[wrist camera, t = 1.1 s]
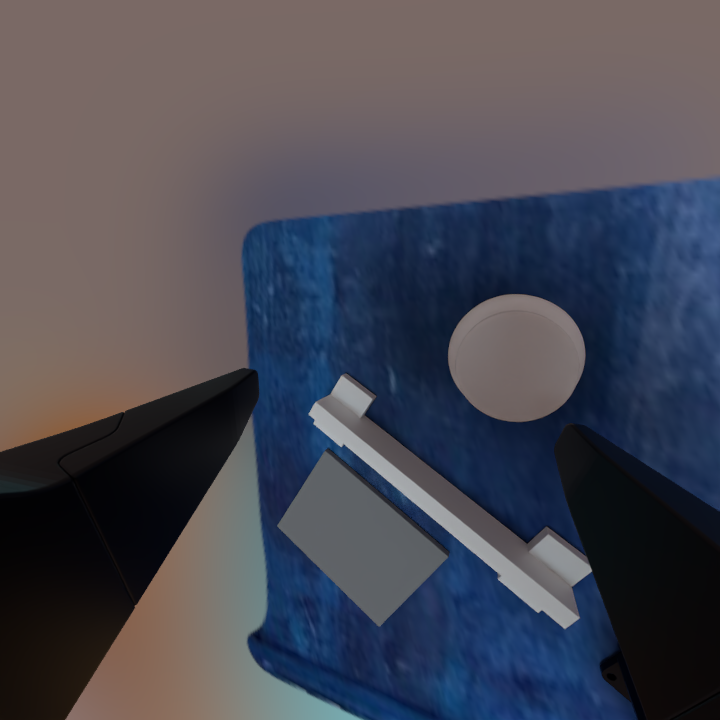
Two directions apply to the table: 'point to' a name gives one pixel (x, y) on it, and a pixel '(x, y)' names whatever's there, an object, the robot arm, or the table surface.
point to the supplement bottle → (516, 357)
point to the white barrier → (457, 508)
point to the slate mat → (360, 538)
